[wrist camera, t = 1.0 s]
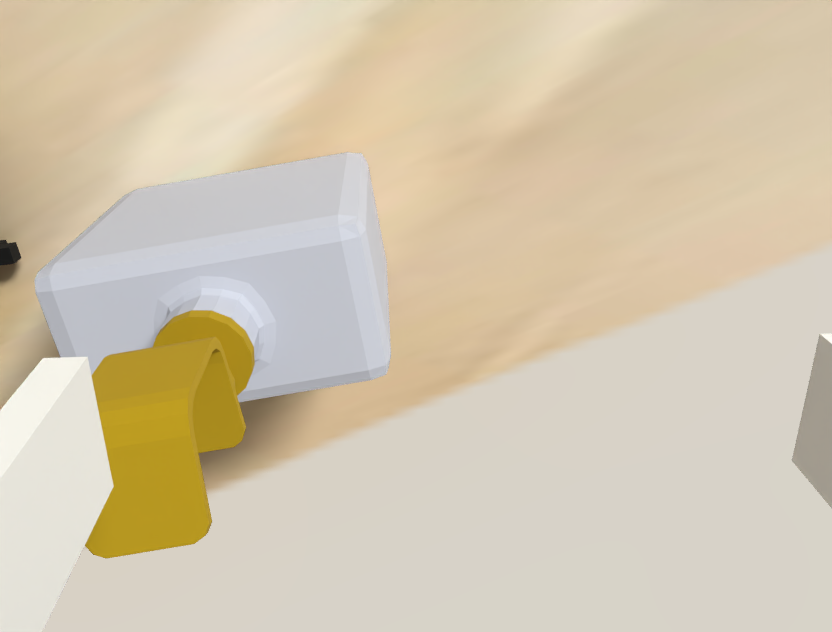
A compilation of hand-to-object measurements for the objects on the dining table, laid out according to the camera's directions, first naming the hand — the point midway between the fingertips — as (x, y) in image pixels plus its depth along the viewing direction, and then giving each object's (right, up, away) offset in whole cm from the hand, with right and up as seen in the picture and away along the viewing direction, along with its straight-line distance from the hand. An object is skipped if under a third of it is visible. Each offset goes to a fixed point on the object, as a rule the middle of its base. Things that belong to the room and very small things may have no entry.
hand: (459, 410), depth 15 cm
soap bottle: (-9, +6, +27) cm, 29 cm away
